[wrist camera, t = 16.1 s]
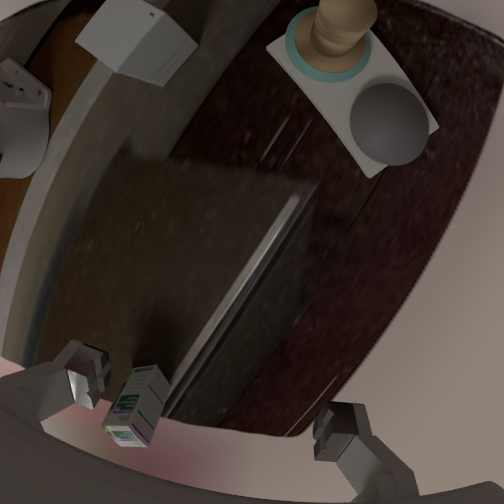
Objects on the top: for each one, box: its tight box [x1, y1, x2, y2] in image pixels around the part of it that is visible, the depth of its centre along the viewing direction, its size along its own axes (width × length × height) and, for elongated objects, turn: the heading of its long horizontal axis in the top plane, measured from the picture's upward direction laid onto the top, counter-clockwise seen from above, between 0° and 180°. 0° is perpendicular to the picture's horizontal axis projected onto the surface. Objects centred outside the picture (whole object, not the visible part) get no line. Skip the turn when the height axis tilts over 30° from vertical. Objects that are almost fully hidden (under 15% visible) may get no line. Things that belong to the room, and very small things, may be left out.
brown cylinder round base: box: [295, 0, 377, 73], centre depth 24 cm, size 8×8×11 cm
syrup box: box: [102, 365, 171, 447], centre depth 45 cm, size 6×6×14 cm
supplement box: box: [75, 0, 198, 87], centre depth 27 cm, size 7×7×13 cm
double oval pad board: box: [266, 6, 439, 178], centre depth 32 cm, size 22×12×3 cm, turn 39°
